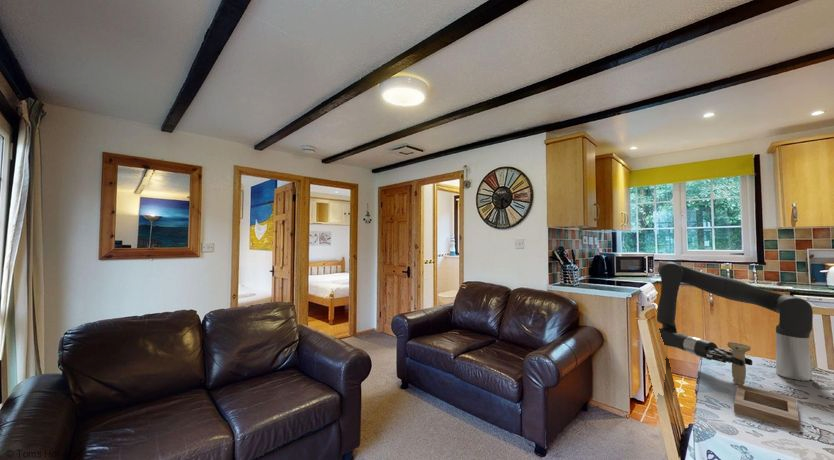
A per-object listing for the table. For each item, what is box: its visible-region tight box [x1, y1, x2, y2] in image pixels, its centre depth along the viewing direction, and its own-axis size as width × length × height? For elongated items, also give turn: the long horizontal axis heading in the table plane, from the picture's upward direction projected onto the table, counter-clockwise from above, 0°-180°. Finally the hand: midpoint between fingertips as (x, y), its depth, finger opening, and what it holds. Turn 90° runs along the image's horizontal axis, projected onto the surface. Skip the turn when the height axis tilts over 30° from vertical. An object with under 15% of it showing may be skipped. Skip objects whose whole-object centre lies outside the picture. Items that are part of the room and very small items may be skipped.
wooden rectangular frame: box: [733, 384, 800, 431], centre depth 109 cm, size 20×14×3 cm
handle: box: [726, 341, 751, 385], centre depth 128 cm, size 5×6×15 cm
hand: (747, 363), depth 125 cm, fingers closed on handle, 3 cm apart
